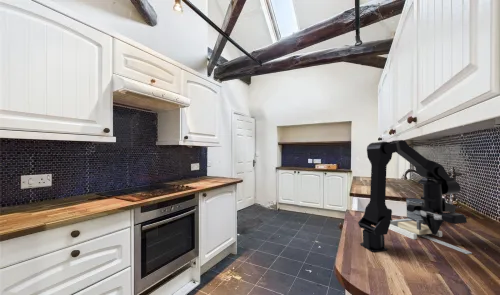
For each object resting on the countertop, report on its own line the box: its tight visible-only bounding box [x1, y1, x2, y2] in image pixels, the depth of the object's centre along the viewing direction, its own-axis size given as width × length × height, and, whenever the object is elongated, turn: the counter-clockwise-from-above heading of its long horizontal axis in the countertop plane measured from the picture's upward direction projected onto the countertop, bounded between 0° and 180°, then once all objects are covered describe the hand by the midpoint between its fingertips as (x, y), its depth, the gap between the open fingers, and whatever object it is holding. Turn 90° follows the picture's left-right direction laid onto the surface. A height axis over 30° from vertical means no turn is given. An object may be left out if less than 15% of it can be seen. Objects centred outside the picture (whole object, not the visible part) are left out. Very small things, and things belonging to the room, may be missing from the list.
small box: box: [405, 197, 430, 225], centre depth 106 cm, size 11×6×10 cm, turn 179°
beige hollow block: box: [398, 219, 434, 238], centre depth 90 cm, size 8×10×7 cm
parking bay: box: [388, 218, 473, 255], centre depth 85 cm, size 14×29×3 cm, turn 9°
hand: (434, 234), depth 82 cm, fingers closed
